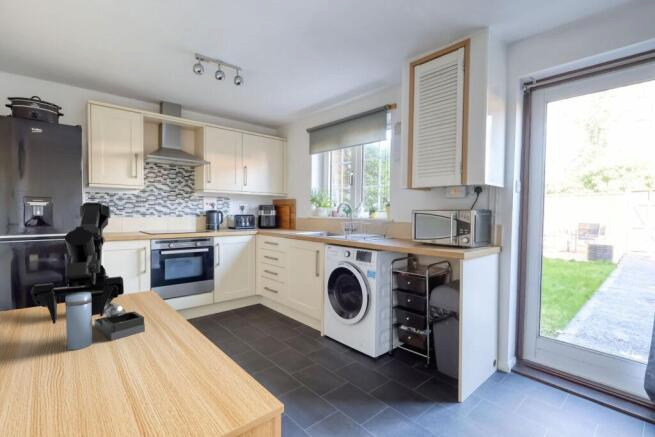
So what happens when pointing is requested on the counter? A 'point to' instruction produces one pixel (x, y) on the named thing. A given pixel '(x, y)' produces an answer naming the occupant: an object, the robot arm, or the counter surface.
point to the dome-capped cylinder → (78, 320)
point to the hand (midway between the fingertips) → (78, 319)
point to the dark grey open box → (119, 322)
